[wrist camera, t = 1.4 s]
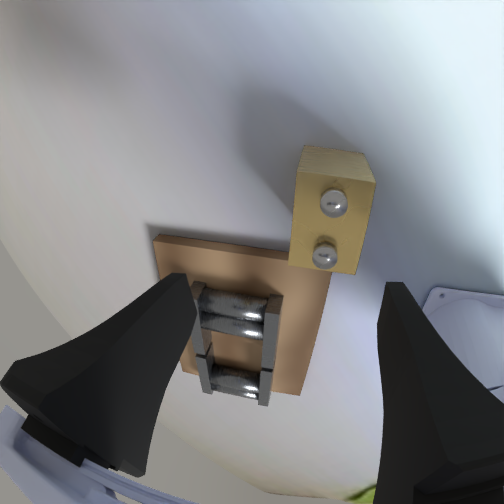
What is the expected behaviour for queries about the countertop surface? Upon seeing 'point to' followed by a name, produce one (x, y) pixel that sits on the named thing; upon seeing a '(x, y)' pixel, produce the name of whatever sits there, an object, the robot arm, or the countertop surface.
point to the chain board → (255, 284)
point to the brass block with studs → (330, 209)
